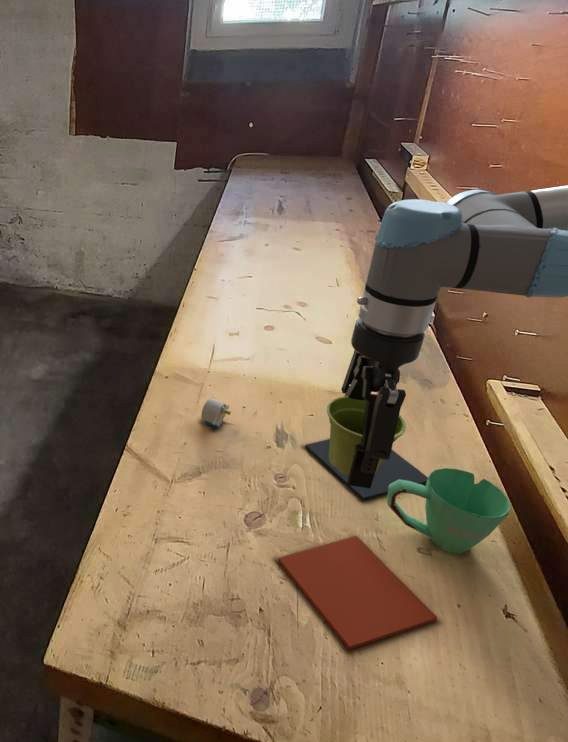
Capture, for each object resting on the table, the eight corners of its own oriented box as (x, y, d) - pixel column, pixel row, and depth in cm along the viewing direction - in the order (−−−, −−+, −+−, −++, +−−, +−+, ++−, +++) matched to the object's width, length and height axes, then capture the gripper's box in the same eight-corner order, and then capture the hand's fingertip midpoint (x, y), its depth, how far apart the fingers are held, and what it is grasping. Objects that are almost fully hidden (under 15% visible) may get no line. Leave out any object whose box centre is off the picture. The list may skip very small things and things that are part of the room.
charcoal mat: (430, 482, 97) (431, 479, 97) (362, 500, 94) (363, 497, 93) (366, 432, 109) (367, 430, 109) (304, 447, 106) (305, 444, 106)
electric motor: (219, 437, 109) (222, 417, 107) (197, 427, 112) (199, 407, 110) (235, 420, 114) (238, 400, 111) (213, 411, 117) (215, 391, 114)
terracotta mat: (436, 620, 75) (437, 617, 75) (348, 649, 72) (349, 646, 71) (355, 538, 87) (356, 535, 87) (277, 560, 84) (278, 557, 84)
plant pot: (396, 495, 75) (412, 444, 71) (318, 479, 78) (330, 430, 75) (384, 450, 83) (398, 402, 79) (313, 437, 86) (324, 391, 82)
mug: (473, 522, 89) (494, 474, 84) (499, 574, 81) (523, 524, 76) (369, 503, 93) (384, 457, 89) (383, 551, 85) (400, 502, 80)
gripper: (340, 287, 81) (311, 415, 91) (379, 364, 63) (337, 513, 73) (399, 292, 79) (362, 422, 89) (457, 372, 61) (403, 523, 71)
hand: (351, 463), depth 81 cm, fingers closed on plant pot, 8 cm apart
